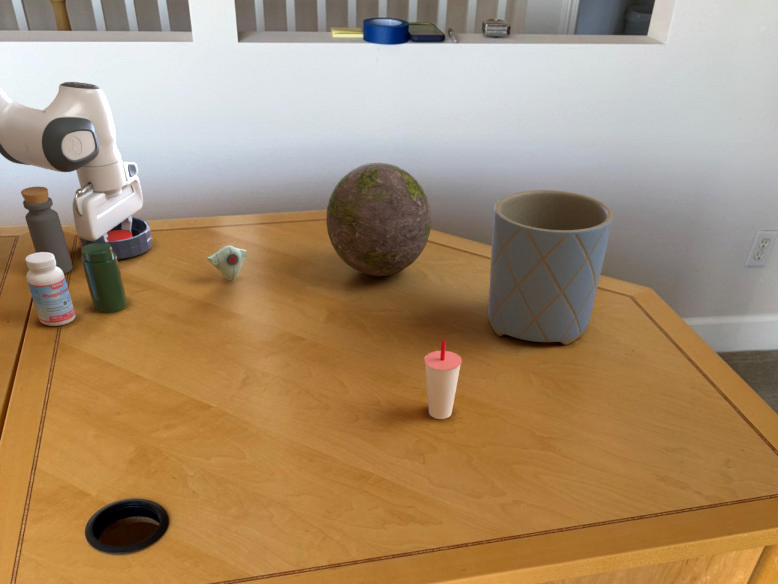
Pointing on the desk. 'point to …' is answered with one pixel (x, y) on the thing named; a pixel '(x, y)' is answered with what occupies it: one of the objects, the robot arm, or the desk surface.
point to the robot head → (228, 261)
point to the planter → (546, 264)
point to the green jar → (103, 278)
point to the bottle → (45, 226)
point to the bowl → (128, 240)
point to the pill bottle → (49, 290)
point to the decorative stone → (378, 219)
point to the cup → (441, 381)
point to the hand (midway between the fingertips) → (118, 245)
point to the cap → (118, 235)
